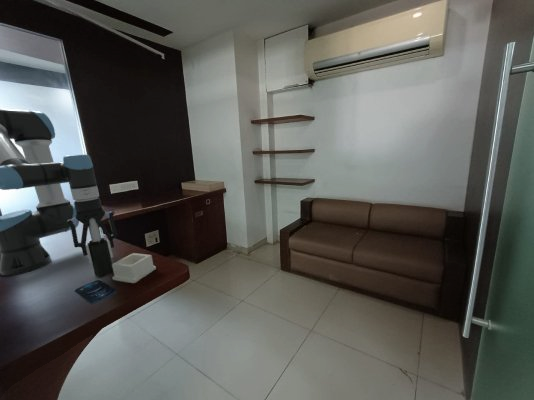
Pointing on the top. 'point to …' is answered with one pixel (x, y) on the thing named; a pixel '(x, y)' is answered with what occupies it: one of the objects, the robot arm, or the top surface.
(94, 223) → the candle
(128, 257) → the socket
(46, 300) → the top surface
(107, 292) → the smartphone
